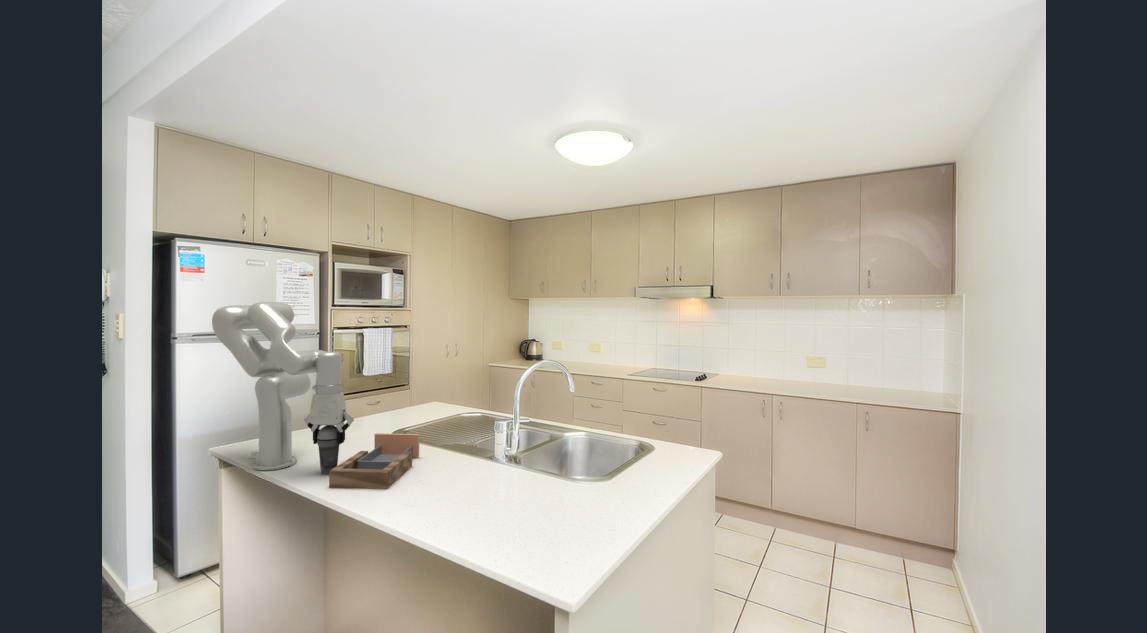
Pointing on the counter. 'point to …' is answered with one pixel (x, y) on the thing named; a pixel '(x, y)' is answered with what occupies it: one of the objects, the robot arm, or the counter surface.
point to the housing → (368, 473)
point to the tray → (389, 450)
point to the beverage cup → (328, 448)
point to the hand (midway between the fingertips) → (329, 442)
